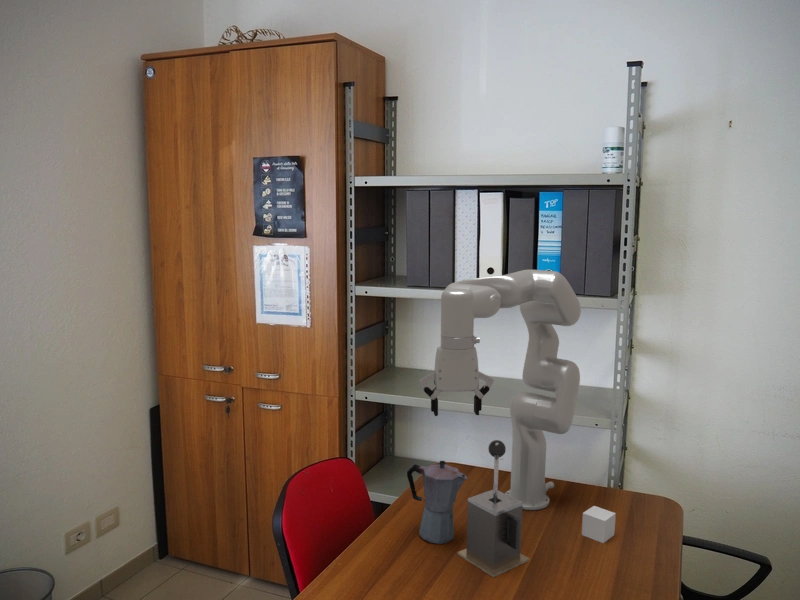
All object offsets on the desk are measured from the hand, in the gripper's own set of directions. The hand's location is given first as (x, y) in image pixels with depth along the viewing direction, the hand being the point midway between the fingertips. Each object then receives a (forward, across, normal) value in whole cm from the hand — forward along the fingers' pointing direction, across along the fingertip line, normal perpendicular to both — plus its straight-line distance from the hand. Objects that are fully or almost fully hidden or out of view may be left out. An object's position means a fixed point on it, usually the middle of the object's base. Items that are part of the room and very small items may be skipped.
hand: (456, 413), depth 147 cm
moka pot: (+35, +4, -8) cm, 36 cm away
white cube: (+36, -38, -7) cm, 53 cm away
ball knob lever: (+23, -9, +3) cm, 24 cm away
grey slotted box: (+35, -9, +3) cm, 36 cm away
